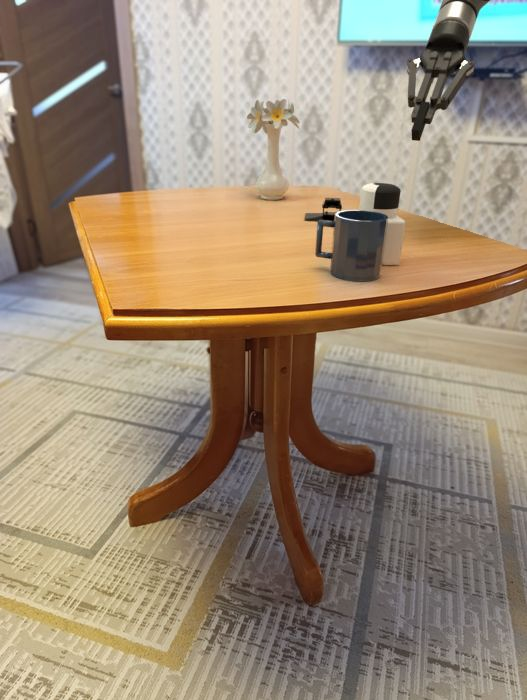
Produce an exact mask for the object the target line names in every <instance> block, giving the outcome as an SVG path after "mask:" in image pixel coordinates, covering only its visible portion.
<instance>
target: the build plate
mask: <svg viewBox="0 0 527 700" xmlns="http://www.w3.org/2000/svg"><path fill="white" fill-rule="evenodd" d="M321 208H322V212H306V213H305V214H304V221H305V222H318V221H319V220H327V221H334V219H335V213H337V212H340V211H342V209H343V205H342V202H341V198H340V197H324V201H323V202H322V205H321ZM325 209H336V210H338V211H335V212H334V211H327V210H326V211H325Z"/></svg>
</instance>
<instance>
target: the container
mask: <svg viewBox="0 0 527 700" xmlns="http://www.w3.org/2000/svg"><path fill="white" fill-rule="evenodd" d="M401 191H402V190H401V189H400V187H399V186H397V185H396V184H392V183H385V182H370V183H366V184H364V185H363V186H361V189H360V198H359V207H358V210H365V211H373V212H378V213H382V214H385V215H387V216H388V217H389V218H388V226H387V233H386V241H385V248H384V256H383V263H382V266H399V265H400V263H401V256H402V249H403V243H404V237H405V229H406V221H405V220H404V219H403V218H401V217H400V216H398V215H397V213H399V206H400V199H401V193H402V192H401Z"/></svg>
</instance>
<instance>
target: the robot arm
mask: <svg viewBox="0 0 527 700" xmlns="http://www.w3.org/2000/svg"><path fill="white" fill-rule="evenodd" d="M490 1H491V0H442V1H441V4H440V7H439V10H438V13H437V15H436V18H435V21H434V23H433V26H432V29H431V31H430V35H429V37H428V40H427V42H426V46H425V49H424V50H423V52H422V53H420V55H419V57H418V58H416V59H414V58H412V57H409V58H407V59H406V73H407V76H408V83H407V107H408V108H412V112H411V115H410V116H411V117H410V118H411V120H410V121H411V123H412V124H413V125H412V126H411V131H410V132H411V141H416V142H420V141H421V138H422V136H423V133H424V130H425V128H426V125H431V124H432V122H433V120H434V117H435V114H436V112H437V111H438V110H441V111H446V110H447V109H448V108H449V106H450V105H451V103H452V102H453V100H454V98H455V97H456V95H457V94H458V92H460V89H461V88H462V86H463V85H464V84H465V82H466V81H467V80H468V79H470V78H471V77H472V76H473V75H474V69H475V61H474V60H468V61H467V60H465V59H466V52H467V48H468V47H469V43H470V39H471V37H472V34H473V30H474V28H475V24H476V21H477V20H478V15H479V13H480V11H481V9H483V7H484V6H486V5H487V4H488V3H489V2H490ZM420 67H421V69H422V71H423V72H424V76H423V79H422V82H421V84H420V87H419V90H418V93H417V95H416V88H417V87H416V82H417V73H418V71H419V70H420ZM455 72H457V73H456V74H455V75H454V77H453V79H452V80H451V82H450V83H449V85H448V86H447V88H446V89H445V87H446V85H447V82H448V79H449V77H450V76H452V75H453V74H454V73H455ZM435 79H436V82H435V84H434V87H433V91H432V94H431V96H430V97H429V101H427V98H428V95H429V92H430V89H431V87H432V84H433V83H434V81H435ZM444 89H445V90H444Z"/></svg>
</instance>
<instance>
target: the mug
mask: <svg viewBox="0 0 527 700" xmlns="http://www.w3.org/2000/svg"><path fill="white" fill-rule="evenodd" d="M336 212H337V213H335V219H334V221H327V220H319V221H317V223H316V237H315V252H314V253H315V254H314V255H315V257H316V258H321V259H328V260H330V266H329V267H330V271H329V272H330V274H331V275H332V276H333V277H335V278H337V279H340V280H343V281H348V282H349V281H350V282H358V283H359V282H372V281H375V280H378V279H380V277H381V275H382V269H383V265H382V263H383V256H384V248H385V241H386V233H387V226H388V218H389V217H388V216H387V215H385V214H382V213H378V212H373V211H365V210H359V209H347V210H341V211H340V212H339V211H336ZM324 227H326V228H333V231H332V241H331V242H332V243H331V245H332V246H331V252H330V251H329V252H327V251H322V248H323V238H324V237H323V236H324Z"/></svg>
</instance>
